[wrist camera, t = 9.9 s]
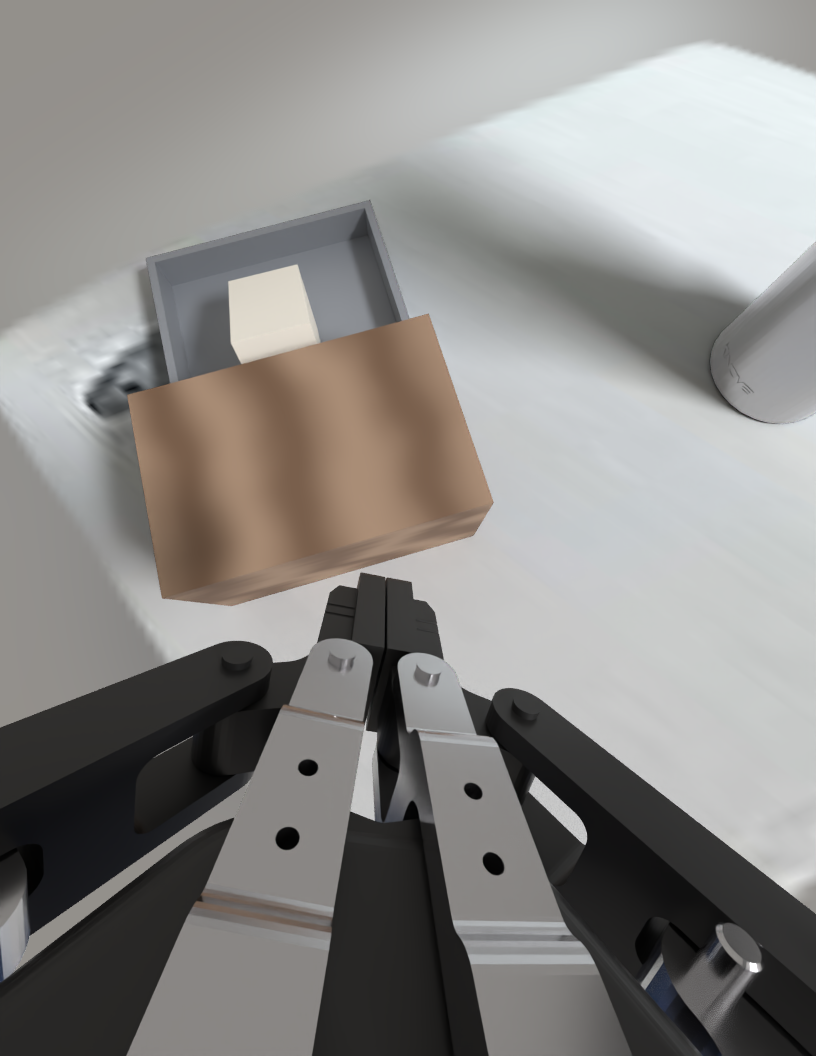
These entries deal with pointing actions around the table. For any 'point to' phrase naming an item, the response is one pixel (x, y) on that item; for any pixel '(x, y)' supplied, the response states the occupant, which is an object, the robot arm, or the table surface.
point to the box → (310, 242)
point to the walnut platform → (306, 465)
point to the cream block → (270, 314)
